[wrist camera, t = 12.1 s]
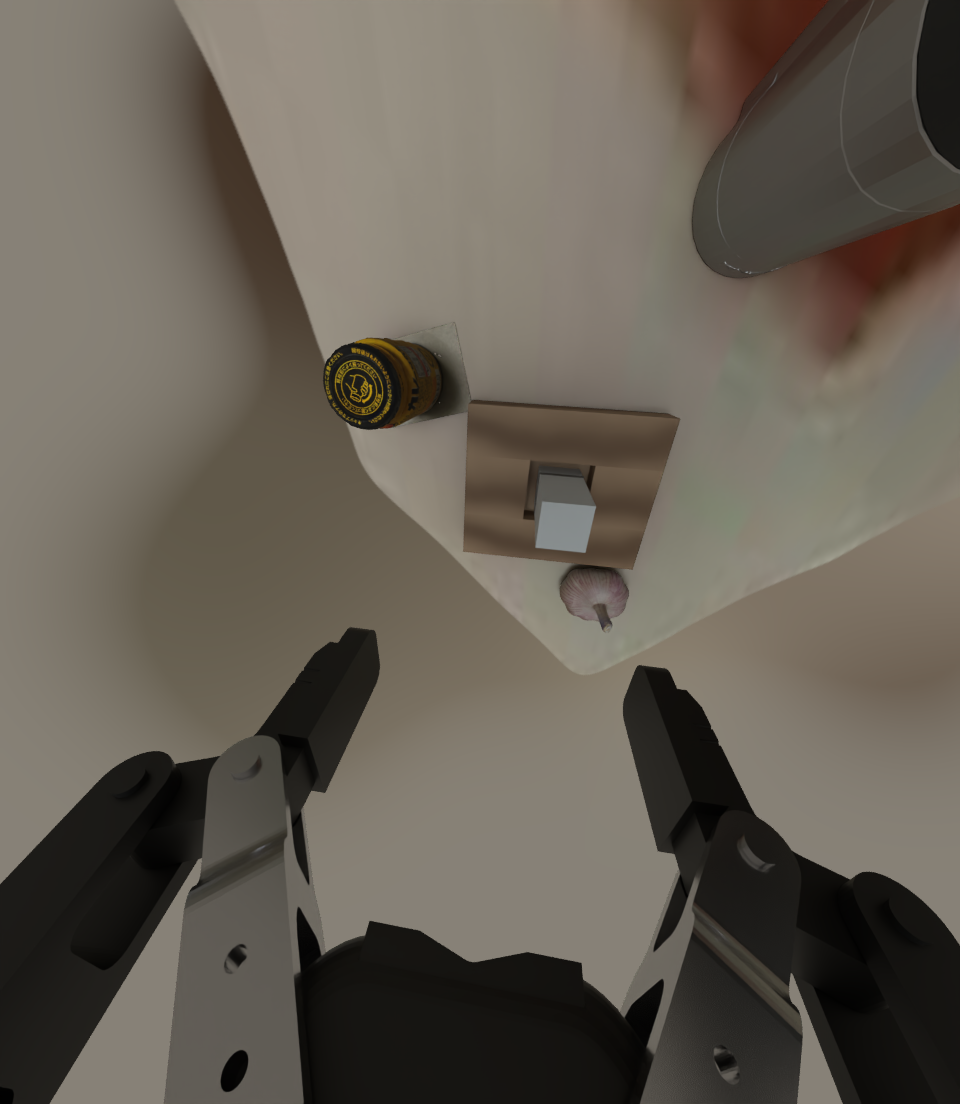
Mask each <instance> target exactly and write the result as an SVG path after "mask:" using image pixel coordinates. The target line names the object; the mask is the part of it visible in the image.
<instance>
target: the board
mask: <svg viewBox="0 0 960 1104" xmlns="http://www.w3.org/2000/svg"><path fill="white" fill-rule="evenodd" d="M679 421H680V418H677V417H675V416H672V415H670V414H665V413H651V412H637V411H623V410H609V409H594V408H580V407H566V406H552V405H538V404H524V403H510V402H496V401H481V400H472V401H471V402H470V403H468V426H467V457H466V487H465V518H464V549H463V552H473V553H482V554H491V555H501V556H510V557H519V558H529V559H538V560H547V561H557V562H566V563H575V564H585V565H594V566H604V567H613V568H622V569H632V570H633V566H634V563H635V560H636V557H637V554H638V551H639V548H640V544H641V541H642V538H643V535H644V532H645V529H646V525H647V522H648V519H649V516H650V513H651V510H652V507H653V503H654V500H655V497H656V494H657V491H658V488H659V485H660V481H661V478H662V475H663V472H664V469H665V466H666V462H667V459H668V456H669V453H670V450H671V447H672V444H673V440H674V437H675V434H676V431H677V428H678V425H679ZM539 466H549V467H561V468H572V469H580V471H581V474H582V476H584V480H585V483H586V485H587V487H588V489H589V492H590V494H591V496H592V498H593V501H594V503H595V505H596V509H595V513H594V518H593V522H592V526H591V531H590V535H589V539H588V544H587V548H586V552H585V553H582V552H573V551H563V550H553V549H544V548H535V516H534V500H535V493H536V485H537V478H538V471H539Z"/></svg>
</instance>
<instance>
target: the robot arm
mask: <svg viewBox="0 0 960 1104" xmlns="http://www.w3.org/2000/svg"><path fill="white" fill-rule="evenodd" d="M958 204H960V0H829V1H828V2H827V3H826V4H825V6H824V7H823V8H822V9H821V10H820V12H819V13H818V14H817V15H816V16H815V18H814V19H813V20H812V21H811V22H810V24H809V25H808V26H807V27H806V28H805V29H804V31H803V32H802V33H801V34H800V35H799V37H798V38H797V39H796V40H795V41H794V43H793V44H792V45H791V46H790V47H789V48H788V50H787V51H786V52H785V53H784V54H783V56H782V57H781V58H780V59H779V60H778V62H777V63H776V64H775V65H774V66H773V68H772V69H771V70H770V71H769V72H768V73H767V75H766V76H765V77H764V78H763V79H762V81H761V82H760V83H759V84H758V85H757V87H756V88H755V89H754V90H753V91H752V92H751V94H750V95H749V96H748V97H747V98H746V100H745V102H744V105H743V109H742V112H741V115H740V118H739V120H738V122H737V124H736V125H735V126H734V128H733V129H732V130H731V132H730V133H729V134H728V135H727V136H726V138H725V139H724V140H723V141H722V143H721V144H720V145H719V146H718V148H717V150H716V151H715V153H714V155H713V156H712V158H711V159H710V161H709V163H708V164H707V167H706V169H705V171H704V174H703V176H702V178H701V181H700V183H699V186H698V190H697V194H696V197H695V201H694V209H693V219H692V222H693V236H694V240H695V243H696V246H697V250H698V252H699V253H700V255H701V257H702V259H703V260H704V262H705V263H706V264H707V265H708V266H709V267H710V268H712V269H713V270H714V271H716V272H718V273H720V274H722V275H724V276H728V277H734V278H744V277H753V276H756V275H759V274H762V273H766V272H770V271H773V270H776V269H779V268H782V267H784V266H787V265H788V264H791V263H794V262H797V261H800V260H803V259H806V258H809V257H811V256H814V255H817V254H820V253H823V252H825V251H828V250H831V249H834V248H837V247H840V246H842V245H845V244H848V243H851V242H854V241H857V240H859V239H862V238H865V237H868V236H871V235H873V234H876V233H879V232H882V231H885V230H888V229H890V228H893V227H896V226H899V225H902V224H905V223H907V222H910V221H913V220H916V219H919V218H921V217H924V216H927V215H930V214H933V213H936V212H938V211H941V210H944V209H947V208H950V207H953V206H955V205H958ZM379 670H380V662H379V654H378V646H377V638H376V633H375V631H374V630H368V629H360V628H352V627H351V628H348V629H347V631H346V632H345V634H344V635H343V636H342V638H341V639H340V641H339V642H338V643H334V642H329V643H328V644H327V645H325V646H324V647H323V648H321V649H320V650H319V651H317V652H316V653H315V654H314V655H313V657H312V658H311V659H310V661H309V662H308V663H307V665H306V666H305V667H304V671H302V672H301V673H300V674H299V676H298V677H297V679H296V681H295V683H293V684H292V685H291V687H290V688H289V690H288V691H287V692H286V694H285V695H284V697H283V698H282V699H281V701H280V702H279V704H278V705H277V706H276V708H275V709H274V710H273V712H272V713H271V715H270V716H269V717H268V719H267V720H266V721H265V723H264V724H263V726H262V727H261V728H260V730H259V731H258V732H257V733H256V734H255V735H254V736H253V737H249V738H246V739H244V740H241V741H239V742H238V743H236V744H234V745H233V746H231V747H230V748H228V749H227V750H226V751H225V752H224V753H223V754H222V755H221V756H217V757H213V758H208V759H201V760H195V761H190V762H184V763H178V764H174V762H173V760H172V759H171V757H170V756H169V755H168V754H166V753H164V752H160V751H152V752H146V753H142V754H139V755H137V756H134V757H132V758H130V759H127V760H126V761H124V762H122V763H121V764H119V765H117V766H116V767H114V768H113V769H112V770H110V771H109V772H108V773H107V774H105V775H104V776H103V777H102V778H101V779H100V780H99V782H97V783H96V784H95V785H94V787H93V788H92V789H91V790H90V791H89V792H88V793H87V794H86V795H85V796H84V797H83V798H82V799H81V800H80V801H79V802H78V803H77V804H76V805H75V806H74V808H73V809H72V810H71V811H70V812H69V813H68V814H67V815H66V816H65V817H64V818H63V819H62V820H61V821H60V822H59V823H58V824H57V825H56V826H55V828H54V829H53V830H52V831H51V832H50V833H49V834H48V835H47V836H46V837H45V838H44V839H43V840H42V841H41V842H40V843H39V844H38V845H37V846H36V847H35V848H34V849H33V850H32V852H31V853H30V854H29V855H28V856H27V857H26V858H25V859H24V860H23V861H22V862H21V863H20V864H19V865H18V866H17V867H16V868H15V869H14V870H13V872H12V873H11V874H10V875H9V876H8V877H7V878H6V879H5V880H4V881H3V882H2V883H1V884H0V1104H50V1102H51V1100H52V1098H53V1097H54V1095H55V1094H56V1092H57V1090H58V1089H59V1087H60V1085H61V1084H62V1082H63V1081H64V1079H65V1077H66V1076H67V1074H68V1072H69V1071H70V1069H71V1067H72V1066H73V1064H74V1062H75V1061H76V1059H77V1058H78V1056H79V1054H80V1053H81V1051H82V1049H83V1048H84V1046H85V1044H86V1043H87V1041H88V1039H89V1038H90V1036H91V1034H92V1033H93V1031H94V1029H95V1028H96V1026H97V1025H98V1023H99V1021H100V1020H101V1018H102V1016H103V1015H104V1013H105V1012H106V1010H107V1008H108V1006H109V1005H110V1003H111V1002H112V1000H113V998H114V997H115V995H116V993H117V992H118V990H119V989H120V987H121V985H122V983H123V982H124V980H125V979H126V977H127V975H128V974H129V972H130V970H131V969H132V967H133V965H134V964H135V962H136V960H137V959H138V957H139V956H140V954H141V952H142V951H143V949H144V947H145V946H146V944H147V942H148V941H149V939H150V937H151V936H152V934H153V933H154V931H155V929H156V928H157V926H158V924H159V923H160V921H161V919H162V918H163V916H164V915H165V913H166V911H167V910H168V908H169V906H170V905H171V903H172V901H173V900H174V898H175V896H176V895H177V893H178V891H179V890H180V888H181V886H182V885H183V883H184V882H185V880H186V878H187V877H188V875H189V873H190V872H191V870H192V869H193V867H194V865H195V864H196V862H197V860H198V859H200V858H202V865H201V874H200V879H199V882H198V883H197V885H195V886H194V887H192V888H191V890H190V892H189V893H188V896H187V899H186V903H185V908H184V915H183V924H182V935H181V943H180V953H179V963H178V973H177V982H176V992H175V1002H174V1011H173V1021H172V1031H171V1041H170V1051H169V1060H168V1070H167V1079H166V1089H165V1099H164V1104H797V1097H798V1086H799V1074H800V1063H801V1052H802V1038H803V1033H802V1021H801V1016H800V1013H799V1010H798V1009H797V1007H796V1006H795V1005H794V1004H792V1002H791V1000H790V997H789V982H790V974H791V973H792V974H793V976H794V978H795V981H796V984H797V986H798V989H799V991H800V994H801V996H802V999H803V1002H804V1005H805V1007H806V1010H807V1012H808V1015H809V1017H810V1020H811V1023H812V1025H813V1028H814V1030H815V1033H816V1035H817V1038H818V1041H819V1043H820V1046H821V1048H822V1051H823V1053H824V1056H825V1059H826V1061H827V1064H828V1067H829V1069H830V1071H831V1074H832V1077H833V1079H834V1082H835V1085H836V1087H837V1090H838V1092H839V1095H840V1098H841V1100H842V1102H843V1104H960V945H959V944H958V942H957V941H956V939H955V938H954V936H953V935H952V933H951V932H950V931H949V930H948V928H947V927H946V925H945V924H944V923H943V922H942V921H941V919H940V918H939V917H938V916H937V915H936V914H935V913H934V912H933V911H932V910H931V909H930V908H929V907H928V906H927V905H926V904H925V903H924V902H923V901H922V900H921V899H920V898H918V897H917V896H916V895H915V894H913V893H912V892H911V891H910V890H908V889H907V888H905V887H904V886H902V885H901V884H899V883H898V882H896V881H894V880H892V879H891V878H888V877H886V876H884V875H881V874H878V873H874V872H862V873H860V874H858V875H856V876H855V877H853V878H852V879H848V878H846V877H844V876H842V875H839V874H837V873H835V872H833V871H831V870H829V869H827V868H825V867H822V866H821V865H819V864H816V863H814V862H812V861H810V860H808V859H806V858H804V857H802V856H800V855H798V854H796V853H795V852H793V851H792V850H791V849H790V848H789V846H788V845H787V843H786V842H785V841H784V839H783V838H782V837H781V836H780V835H779V834H778V833H777V832H776V831H775V830H774V829H773V828H772V827H771V826H769V825H768V824H767V823H765V822H764V821H762V820H761V819H759V818H758V817H757V816H756V815H755V814H754V812H753V810H752V808H751V806H750V804H749V802H748V800H747V798H746V796H745V794H744V792H743V790H742V788H741V786H740V784H739V782H738V780H737V778H736V776H735V774H734V772H733V770H732V768H731V766H730V764H729V762H728V760H727V757H726V756H725V753H724V752H723V749H722V747H721V746H719V744H718V739H717V737H716V735H715V733H714V731H713V730H712V729H711V725H710V723H709V721H708V719H707V717H706V715H705V713H704V711H703V709H702V707H701V706H700V705H699V704H698V702H697V701H696V700H695V699H694V698H693V697H692V696H691V695H690V694H689V693H688V691H687V690H681V689H677V688H676V685H675V683H674V681H673V678H672V676H671V674H670V672H669V671H668V670H667V669H665V668H657V667H649V666H642V665H639V666H637V668H636V670H635V672H634V675H633V677H632V680H631V682H630V685H629V688H628V690H627V693H626V695H625V698H624V703H623V717H624V722H625V726H626V730H627V734H628V738H629V741H630V745H631V749H632V753H633V757H634V760H635V765H636V769H637V772H638V776H639V780H640V784H641V788H642V792H643V795H644V799H645V803H646V807H647V811H648V815H649V819H650V822H651V826H652V830H653V834H654V838H655V842H656V846H657V849H658V851H660V852H666V853H672V854H675V857H676V860H677V863H678V867H679V870H678V871H677V873H676V876H675V878H674V881H673V884H672V887H671V889H670V892H669V894H668V897H667V900H666V903H665V905H664V908H663V911H662V913H661V916H660V919H659V921H658V924H657V927H656V930H655V932H654V935H653V938H652V940H651V943H650V946H649V948H648V951H647V953H646V955H645V958H644V960H643V962H642V963H641V965H640V967H639V969H638V971H637V972H636V974H635V976H634V979H633V981H632V983H631V985H630V987H629V990H628V992H627V995H626V997H625V1000H624V1003H623V1005H622V1008H621V1011H620V1012H619V1011H618V1009H617V1008H616V1007H615V1006H614V1005H613V1004H612V1003H611V1002H610V1001H609V1000H608V999H607V998H606V997H605V996H604V995H603V994H601V993H600V992H599V991H598V990H597V989H596V988H594V987H593V986H591V984H589V983H587V982H586V981H584V980H583V977H582V976H583V975H582V964H581V963H579V962H574V961H568V960H564V959H559V958H554V957H549V956H544V955H539V954H534V953H529V952H526V953H521V954H516V955H511V956H506V957H501V958H495V959H491V960H485V961H480V962H469V961H466V960H465V959H463V958H462V957H460V956H459V955H457V954H455V953H454V952H452V951H451V950H449V949H447V948H446V947H444V946H443V945H441V944H440V943H438V942H436V941H435V940H433V939H432V938H430V937H429V936H427V935H426V934H424V933H422V932H421V931H418V930H413V929H408V928H403V927H398V926H393V925H388V924H383V923H378V922H373V921H370V922H369V925H368V928H367V932H366V935H365V936H360V937H357V938H354V939H351V940H348V941H346V942H343V943H342V944H340V945H338V946H336V947H334V948H332V949H331V950H329V951H328V952H325V944H324V937H323V930H322V924H321V918H320V913H319V909H318V904H317V900H316V896H315V891H314V885H313V878H312V871H311V863H310V855H309V847H308V839H307V831H306V824H305V816H304V809H303V806H304V804H305V802H306V800H307V798H308V796H309V794H310V792H311V791H317V792H323V793H325V792H326V790H327V788H328V786H329V783H330V781H331V779H332V777H333V775H334V773H335V770H336V768H337V766H338V764H339V762H340V760H341V758H342V756H343V753H344V751H345V749H346V747H347V745H348V743H349V741H350V738H351V736H352V734H353V732H354V729H355V728H356V726H357V724H358V721H359V719H360V717H361V715H362V713H363V711H364V709H365V707H366V704H367V702H368V700H369V698H370V696H371V694H372V692H373V689H374V687H375V685H376V683H377V680H378V676H379Z"/></svg>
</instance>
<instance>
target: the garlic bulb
mask: <svg viewBox="0 0 960 1104" xmlns="http://www.w3.org/2000/svg"><path fill="white" fill-rule="evenodd" d="M560 597H561V599H562V601H563V602H564V603H565V605H566V608H567V610H568V611H569V613H571V614H572V615H574V616H578V617H580V618H582V619H583V620H594V621H599V622H600V624H601V627H602V630H603V632H605V633H607V632H609V631H610V630H611V628H612V623H611V621H610V618H613V617H616V616H619V615H620V614H621V613H622V612H623V611H624V609H625V606H626V602H627V599H628V597H629V590H628V588H627V586H626V585H625V584H624V583H623V579H622V578H621V576H620V575H619V574H618V573H617V572H615V571H613V570H609V569H604V570H597V569H593V568H590V569H574V570H572V571H570V572H569V574H568V576H567V578H566V579H565V580H564V581H563V582H562V583H561V586H560Z"/></svg>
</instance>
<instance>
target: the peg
mask: <svg viewBox="0 0 960 1104" xmlns="http://www.w3.org/2000/svg"><path fill="white" fill-rule="evenodd" d="M595 509H596V505H595V503H594V501H593V498H592V496H591V494H590V492H589V489H588V487H587V485H586V483H585V480H584V476H582V474H581V471H580V469H572V468H561V467H549V466H539V471H538V478H537V485H536V493H535V500H534V516H535V548H544V549H553V550H563V551H573V552H582V553H585V552H586V548H587V544H588V539H589V535H590V531H591V526H592V522H593V518H594V513H595Z"/></svg>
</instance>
